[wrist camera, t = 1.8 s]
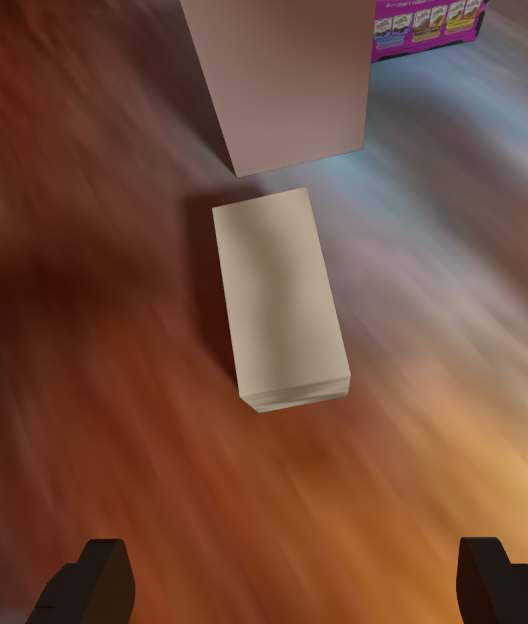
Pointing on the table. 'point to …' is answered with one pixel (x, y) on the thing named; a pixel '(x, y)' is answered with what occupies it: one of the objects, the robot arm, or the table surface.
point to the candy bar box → (423, 25)
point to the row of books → (285, 76)
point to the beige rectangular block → (279, 303)
